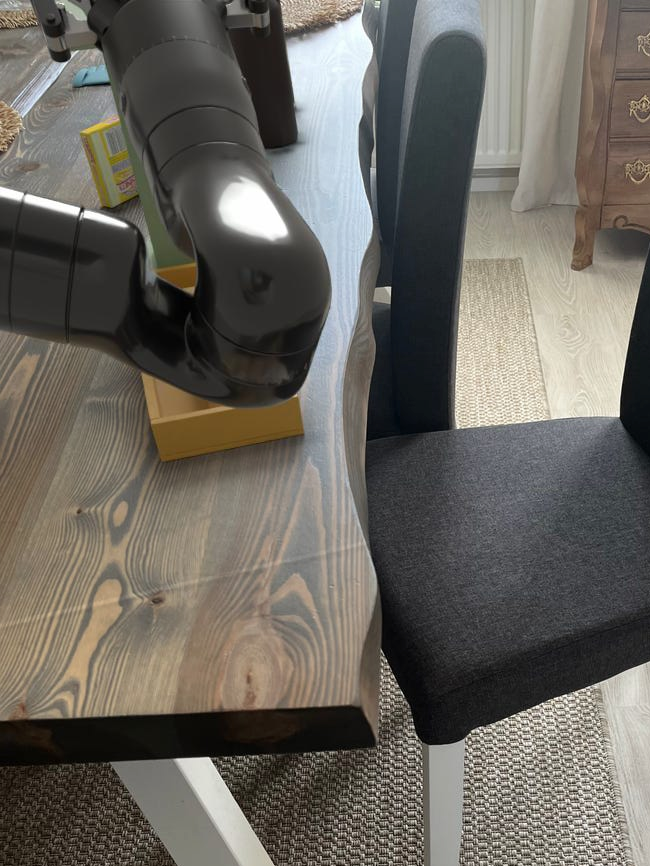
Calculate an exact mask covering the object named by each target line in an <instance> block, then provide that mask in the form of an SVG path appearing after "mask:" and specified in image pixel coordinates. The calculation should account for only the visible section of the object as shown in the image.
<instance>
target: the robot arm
mask: <svg viewBox="0 0 650 866" xmlns="http://www.w3.org/2000/svg"><path fill="white" fill-rule="evenodd" d="M29 1H30V5H31V8H32V10H33V13H34V15H35V18H36V20H37V24H38V26H39V28H40V31H41V34H42V37H43V39H44V42H45V45H46V47H47V50H48V53H49V55H50V58H51V59H52V61H54V62H56V63H59V64H63V63H67V62H69V61H70V60H71V58H72V51H70V48H74V47H80V46H86V45H92V44H94V46H95V47H96V49H97V50H98V51H99V52H101V53H103V54H104V55H105V57H106V61H107V64H108V67H109V70H110V74H111V77H112V80H113V83H114V87H115V90H116V93H117V97H118V100H119V103H120V108H121V111H122V114H123V116H124V120H125V123H126V126H127V130H128V133H129V136H130V139H131V142H132V144H133V147H134V149H135V151H136V153H137V156H138V158H139V159H140V161H141V163H142V165H143V168H144V170H145V173H146V176H147V180H148V183H149V186H150V189H151V193H152V196H153V199H154V203H155V206H156V209H157V212H158V215H159V218H160V221H161V223H162V225H163V228H164V229H165V231H166V233H167V235H168V237H169V239H170V241H171V242H172V243H173V244H174V246H175V247H176V248H177V249H178V250H179V251H180V252H181V253H182V254H183V255H185V256H186V257H187V258H189V259H191V260H193V261H194V262H196V270H197V277H196V283H195V289H194V294H192V293H189V292H187V291H185V290H183V289H181V288H180V287H178V286H176V285H174V284H172V283H170V282H169V281H167V280H165V279H163V278H162V277H160V276H159V275H157V274H156V273H155V272H154V270H153V268H152V266H151V263H150V259H149V254H148V249H147V245H146V242H147V241H146V239H145V235H144V233H143V231H141V229H140V228H139V226H138V225H137V224H136V223H134V222H133V221H132V220H130V219H128V218H126V217H124V216H121V215H119V214H116V213H113V212H110V211H107V210H104V209H99V208H96V207H92V206H89V205H86V206H84V205H83V204H81V203H77V202H73V201H70V200H66V199H61V198H58V197H55V196H50V195H47V194H42V193H38V192H35V191H31V190H30V191H29V190H26V189H22V188H19V187H14V186H10V185H6V184H3V183H0V331H1V332H6V333H10V334H15V335H18V336H19V335H20V336H24V337H29V338H33V339H37V340H43V341H47V342H52V343H56V344H62V345H68V344H69V345H70V347H75V348H76V347H77V348H82V349H87V350H93V351H97V352H99V353H101V354H103V355H106V356H108V357H109V358H111V359H114V360H116V361H118V362H120V363H121V364H124V365H125V366H127V367H129V368H131V369H133V370H134V371H138V372H139V373H140V374H141V373H144V374H146V375H148V376H151V377H153V378H155V379H157V380H160V381H162V382H164V383H166V384H168V385H170V386H173V387H175V388H177V389H179V390H181V391H184V392H186V393H188V394H190V395H193V396H195V397H197V398H200V399H202V400H205V401H207V402H210V403H214V404H217V405H220V406H224V407H229V408H235V409H264V408H269V407H274V406H277V405H280V404H282V403H285V402H286V401H288V400H290V399H291V398H292V397H294V396H295V395H296V394H297V395H298V393H299V392H300V391H301V389H302V388H303V386H304V384H305V382H306V380H307V378H308V375H309V373H310V370H311V367H312V364H313V361H314V358H315V355H316V352H317V348H318V346H319V343H320V340H321V338H322V337H321V336H322V334H323V330H324V328H325V325H326V322H327V319H328V317H329V313H330V310H331V304H332V297H333V286H332V277H331V271H330V266H329V262H328V259H327V255H326V253H325V250H324V248H323V246H322V243H321V242H320V240H319V238H318V236H317V235H316V234H315V233H314V231H313V229H311V227H310V225H309V224H308V223H307V222H306V220H305V219H304V217H303V216H302V215H301V214H300V212H299V211H298V209H297V208H296V207H295V205H294V204H293V202H292V201H291V199H289V197H288V196H287V195H286V194H285V193H284V191H283V190H282V189H281V188H280V187H279V186H278V184H277V181H276V177H275V175H274V172H273V169H272V166H271V163H270V161H269V157H268V155H267V151H266V148H264V146H263V144H262V141H261V138H260V134H259V128H258V123H257V118H256V113H255V110H254V106H253V103H252V100H251V93H250V90H249V87H248V85H247V82H246V80H245V78H244V77H243V75H242V72H241V70H240V67H239V64H238V61H237V59H236V56H235V53H234V50H233V47H232V45H231V42H230V39H229V36H228V34H227V33H228V31H229V28H241V27H250V29H251V32H252V34H253V35H254V36H255V37H258V38H266V37H268V36H269V35H270V19H269V4H268V0H233V1H232V3H230V4H227V5H226V4H225V3H224V1H223V0H67V1H69V2H71V3H72V4H74V5H76V6H77V7H79V8H80V9H82V11H83V12H84V14H85V15H86V17H87V20H79V19H77V18H75V17H74V16H73V14H72V13H71V12H69V11H66V9H65V5H64V4H62V3H60V2H59V3H57V2H56V0H29ZM103 54H102V55H103Z"/></svg>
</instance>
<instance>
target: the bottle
mask: <svg viewBox="0 0 650 866" xmlns="http://www.w3.org/2000/svg"><path fill="white" fill-rule="evenodd" d="M232 1H233V0H228V1H227V2H226V5H227V4H230V3H232ZM268 4H269V19H270V35H269V36H268V37H266V38H258V37H255V36H254V35H253V34H252V32H251V29H250V27H241V28H229V31H228V33H227V34H228V36H229V39H230V42H231V45H232V47H233V50H234V53H235V56H236V59H237V61H238V64H239V67H240V70H241V72H242V75H243V77H244V78H245V80H246V82H247V85H248V87H249V90H250V93H251V100H252V103H253V106H254V110H255V113H256V118H257V123H258V128H259V134H260V138H261V141H262V144H263V146H264V149H275V148H281V147H285V146H289V145H291V144H292V143H295V141H296V140H297V139H298V137H299V130H298V123H297V116H296V115H297V114H296V107H295V108H294V101H293V94H292V87H291V80H290V73H291V72H290V73H289V66H290V65H289V66H288V59H289V58H288V59H287V52H286V45H287V44H286V45H285V38H284V31H283V24H282V17H281V10H280V6H279V4H278V2H277V1H276V0H268Z"/></svg>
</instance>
